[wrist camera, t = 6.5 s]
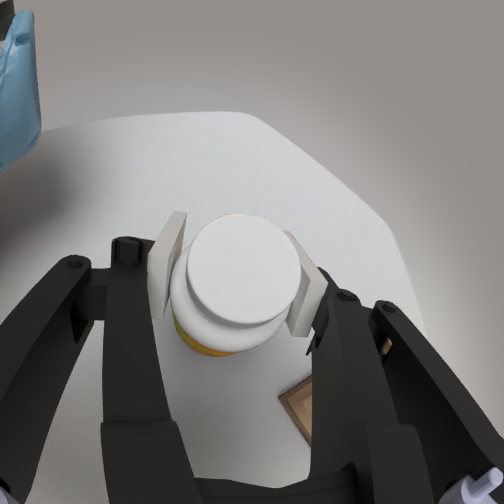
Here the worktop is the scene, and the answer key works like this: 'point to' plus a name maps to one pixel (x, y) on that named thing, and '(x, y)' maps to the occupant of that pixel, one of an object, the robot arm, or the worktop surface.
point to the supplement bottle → (234, 285)
